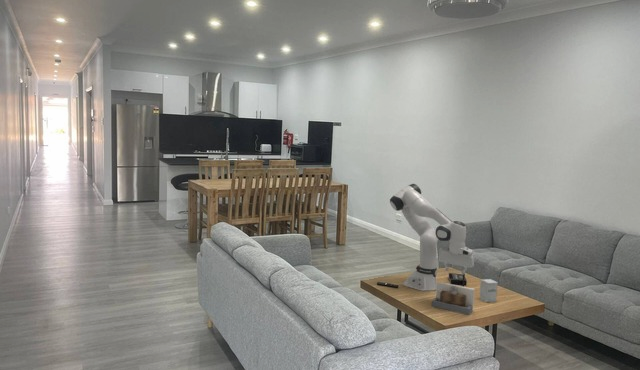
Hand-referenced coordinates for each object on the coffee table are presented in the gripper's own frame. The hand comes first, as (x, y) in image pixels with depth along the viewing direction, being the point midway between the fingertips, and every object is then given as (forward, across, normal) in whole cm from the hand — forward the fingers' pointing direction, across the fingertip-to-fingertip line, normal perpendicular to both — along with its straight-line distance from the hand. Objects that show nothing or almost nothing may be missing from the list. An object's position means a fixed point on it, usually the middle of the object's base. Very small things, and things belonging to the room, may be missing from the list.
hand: (454, 272), depth 273 cm
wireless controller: (+22, -11, +53) cm, 59 cm away
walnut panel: (+22, 0, 0) cm, 22 cm away
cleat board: (+22, 0, 0) cm, 22 cm away
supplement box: (+22, +14, +28) cm, 39 cm away
